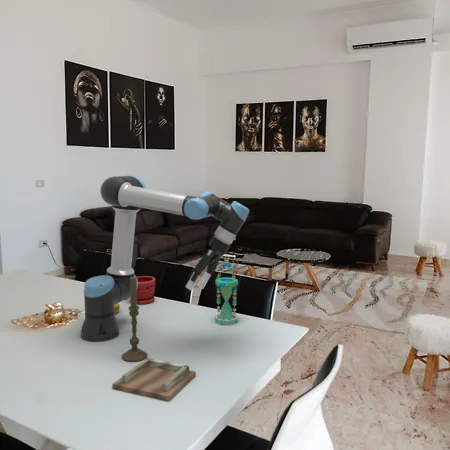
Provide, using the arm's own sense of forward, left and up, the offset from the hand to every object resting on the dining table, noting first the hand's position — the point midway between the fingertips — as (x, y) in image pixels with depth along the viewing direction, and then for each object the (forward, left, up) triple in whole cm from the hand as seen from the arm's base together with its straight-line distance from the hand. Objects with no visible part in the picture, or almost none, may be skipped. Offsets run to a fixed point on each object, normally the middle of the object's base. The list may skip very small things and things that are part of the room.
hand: (194, 288), depth 175 cm
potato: (-55, +18, -23) cm, 62 cm away
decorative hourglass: (+2, +29, -23) cm, 37 cm away
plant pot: (-49, +40, -23) cm, 67 cm away
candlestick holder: (-14, -20, -23) cm, 33 cm away
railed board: (+3, -34, -22) cm, 40 cm away
